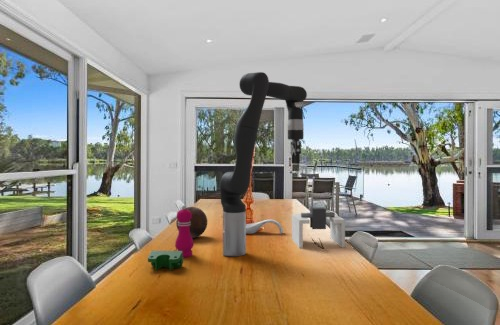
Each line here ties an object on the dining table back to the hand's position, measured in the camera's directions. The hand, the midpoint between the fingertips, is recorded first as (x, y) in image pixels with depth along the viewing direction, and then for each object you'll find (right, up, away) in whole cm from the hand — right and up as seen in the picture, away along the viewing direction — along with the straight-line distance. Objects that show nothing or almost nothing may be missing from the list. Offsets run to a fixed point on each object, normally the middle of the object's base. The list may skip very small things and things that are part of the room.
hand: (295, 163), depth 187 cm
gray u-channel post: (+9, -29, -11) cm, 32 cm away
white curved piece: (-17, -36, +14) cm, 43 cm away
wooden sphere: (-50, -36, +3) cm, 62 cm away
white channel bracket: (+9, -36, -11) cm, 39 cm away
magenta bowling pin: (-48, -37, -31) cm, 68 cm away
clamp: (-52, -37, -50) cm, 81 cm away
